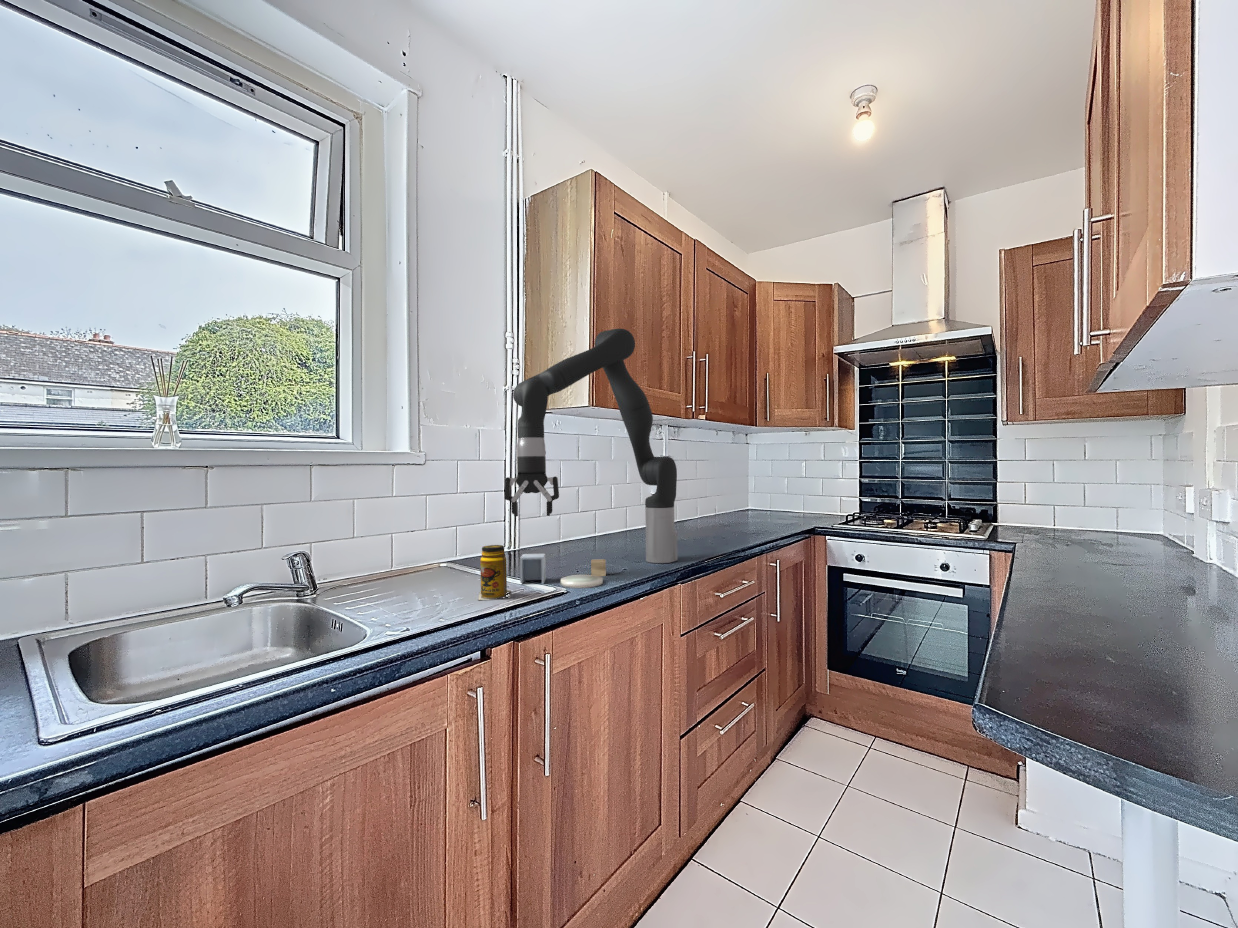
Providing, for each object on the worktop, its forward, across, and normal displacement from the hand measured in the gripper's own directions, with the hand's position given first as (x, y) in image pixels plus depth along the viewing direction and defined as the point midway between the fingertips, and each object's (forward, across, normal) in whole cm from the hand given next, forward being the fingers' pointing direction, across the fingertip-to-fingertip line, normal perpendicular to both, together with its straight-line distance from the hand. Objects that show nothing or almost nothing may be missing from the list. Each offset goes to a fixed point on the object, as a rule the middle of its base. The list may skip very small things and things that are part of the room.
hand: (532, 515), depth 149 cm
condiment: (+18, -8, -15) cm, 24 cm away
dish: (+18, +13, -4) cm, 22 cm away
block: (+18, +17, +8) cm, 26 cm away
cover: (+18, 0, 0) cm, 18 cm away
